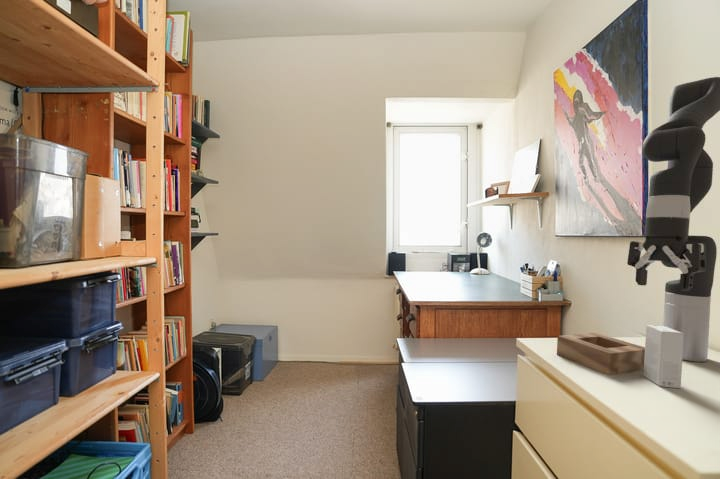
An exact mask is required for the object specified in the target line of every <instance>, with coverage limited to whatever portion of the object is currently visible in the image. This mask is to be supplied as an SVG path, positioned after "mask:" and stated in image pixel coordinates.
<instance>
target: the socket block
mask: <svg viewBox="0 0 720 479" xmlns="http://www.w3.org/2000/svg"><path fill="white" fill-rule="evenodd" d="M556 342H557V343H556V344H557V345H556V355H557V356H560V357H562V358H566V359H568V360H570V361H573V362H575V363H578V364H580V365H583V366H585V367H588V368H590V369H593V370H595V371H598V372H601V373H603V374H606V375H608V376H612V375H617V374H624V373H632V372H639V371H644V357H645V346H642V345H639V344H635V343H632V342H628V341H625V340H621V339H619V338H615V337H612V336H608V335H605V334H602V333H597V332H586V333H576V334H564V335H563V334H562V335H557V340H556Z"/></svg>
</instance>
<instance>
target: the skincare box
mask: <svg viewBox="0 0 720 479" xmlns="http://www.w3.org/2000/svg"><path fill="white" fill-rule="evenodd" d="M645 328H646V329H645V340H644V341H645V342H644V343H645V344H644V347H645V357H644V370H643V377H645V378H646V379H648V380H650V381H651V382H652V383H654V384H656V385H657V386H659V387H664V388H675V389H681V386H682V371H683V369H682V368H683V359H682V356H683V338H684V333H682V332H679V331H676V330H674V329H671V328H668V327H665V326H663V325H662V326H661V325H652V324H646V326H645Z"/></svg>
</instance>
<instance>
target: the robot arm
mask: <svg viewBox="0 0 720 479" xmlns="http://www.w3.org/2000/svg"><path fill="white" fill-rule="evenodd" d="M668 110H669V118H668V119H667V120H666V122H665V123H663V124H662V125H660V126H657V127H656V128H654V129H653V130H651V131H650V132H649V133H648V134H647V136H646V137H645V138H644V140H643V142H642V147H641V152H642V155H643V157H644V158H645V159H646V160H648V161H649V162H654V163H656V162H657V163H660V162H667V169H664V170H663V169H662V170H659V171H656V172H654V173H652V175H651V176H650V179H649V191H648V192H649V193H648V201H647V205H646V214H645V226H644V236H645V240H644V241H643V242H641V241H638V240H637V241H635V240H632V241H630V242H629V247H628V248H629V249H628V254H627V262H626V264H627V265H628V266H630V267H633V268H635V282H636V283H637V285H638V286H647V285H648V284H647V282H648V272H649V271H648V269H647V268H648V267H650V266H651V264H654V263H655V262H656V261H658V262H661V264H662V265H663V266H664V267H667V268H672V269H673V268H674V269H679V270H680V272H681V273H680V276H679V277H680V278H679V279H673V280H669V281H667V282H666V283H665V285H664V287H665V288H664V300H663V301H664V303H663V304H664V305H663V321H662V326H665V327H668V328H671V329H674V330H676V331H679V332H682V333H684V338H683V356H682V361H683V360H684V361H691V362H699V363H700V362H701V363H704V362H707V361H708V354H709V338H710V337H709V336H710V318H711V317H710V316H711V314H710V313H711V302H712V301H711V300H712V289H713V286H714V278H715V277H714V276H715V268H716V262H717V254H718V253H717V250H718V249H717V243H716V242H715V239H713V238H712V237H711V236H708V235H707V236H706V235H689V232H690V222H691V221H690V220H691V219H690V217H691V213H692V212H693V211H694V210H695V208H696V207H697V206H698V205H699V204H700V203H701V202H702V201H703V199H704V198H705V197H706V196H707V194H708V193H709V192H710V190H711V188H712V184H713V171H714V169H713V168H714V163H713V160H712V157H711V156H710V155H709V153H707V151H706V149H704V146H705V144H706V139H707V138H706V134H705V132H704V130H703V128H704V126H705V124H706V123H708V121H709V120H710V119H712V118H713V117H714V116H715V115H717V113H719V112H720V76H713V77H708V78H707V77H706V78H703V79H698V80H694V81H690V82H689V81H688V82H686V83H682V84H678V85H675V86H674V87H673V88H672V90H671V92H670V95H669V109H668ZM643 250H644V251H645V253H643V254H642V255H641V253H642V251H643Z"/></svg>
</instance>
